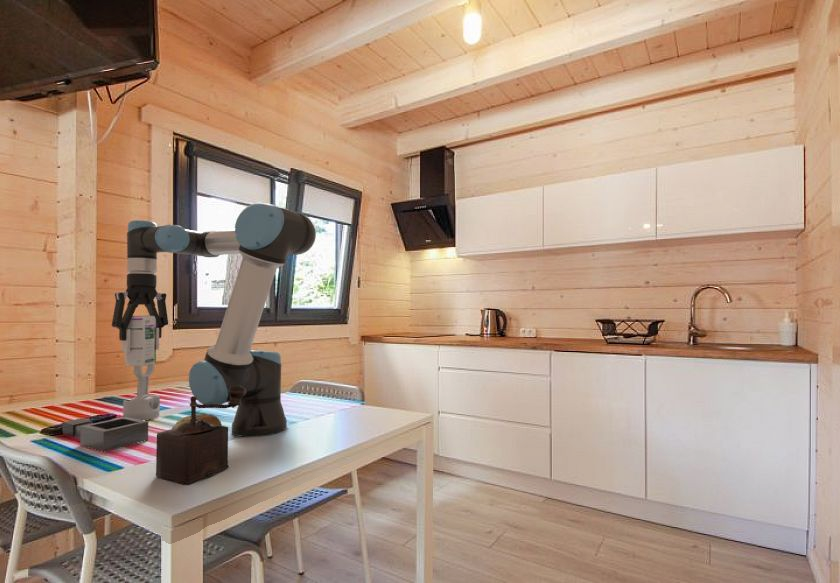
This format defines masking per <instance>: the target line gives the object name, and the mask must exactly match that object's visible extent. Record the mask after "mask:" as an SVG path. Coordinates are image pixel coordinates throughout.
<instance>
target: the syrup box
mask: <svg viewBox="0 0 840 583" xmlns="http://www.w3.org/2000/svg"><path fill="white" fill-rule="evenodd" d="M127 329H130V352H124V353H125V359H124V361H125V366H127V367H134V366H141V367H144V366H147V365H149V364H154V363H155V364H156V363H157V350H156V319H155V316H150V315H133V316H132V318H131V321H130V323H129V325H128V328H127Z"/></svg>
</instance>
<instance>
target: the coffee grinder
mask: <svg viewBox="0 0 840 583" xmlns="http://www.w3.org/2000/svg"><path fill="white" fill-rule="evenodd" d="M228 393H229V395H230V401H229V402H227V404H221V405H220V404H201V403H200V404H199V403H197V401H198V400H197V398H196V397H195V396H194V395H192V396H191V397H190V398H189V401H190V403H189V407H191V408H190V410H191V411H190V412H191V413H190V416H191V419H190V421H188V422H185V423H183V424H182V425H180V426H179V427H178V428H174V429H172V428H171V429H167V430H163V431H160V432H157V434H156V449H155V450H156V451H155V453H156V454H155V455H156V457H155V458H156V459H155V460H156V461H155V462H156V463H155V465H156V466H155V478H158V479H161V480H165V481H169V482H172V483H175V484H176V483H177V484H181V485H185V486H189V485H192V484H195V483H197V482H199V481H200V482H201V481H202V480H205V479H207V478H210V477H212V476H214V475H216V474H218V473H221V472H223V471H225V470H227V469H228V468H229V426H226V425H222V426H220V425H213V424H209V423H208V422H205V421H203V420H197V419H196V414H197V408H199V409H229V408H232V409H234V408H236V407H238V406H240V405H241V401H240V400H241V399H242V397H243V396H244V395H245V394H246V389H245V388H244V387H243V386H239V385H233V386H231V387H230V388H229V389H228Z"/></svg>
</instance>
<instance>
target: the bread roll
mask: <svg viewBox="0 0 840 583" xmlns="http://www.w3.org/2000/svg"><path fill="white" fill-rule="evenodd" d="M190 419H191V415H188V416H185V417H182V418H180V419H179V420H178V421H177V422H176V423H174V425H173V426H172V427H171V429H174V428H178V427H179V426H180V425H182V424H183V423H185V422H188V421H190ZM196 419H197V420H203V421H205V422H208V423H209V424H213V425H220V426H223V425H222V421H221V420H220V419H219V418H218V416H217V415H214V414H207V413H198V414H197V413H196Z"/></svg>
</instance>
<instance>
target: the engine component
mask: <svg viewBox="0 0 840 583" xmlns="http://www.w3.org/2000/svg"><path fill="white" fill-rule="evenodd" d="M155 364H156V363H154V364H149V365H146V370H145V372H144V373H143V370H142V369H143V368H142V366H133V372H132V373H133V374H134V376H135V377H136V378H137V386H136V387H137V389H136V390H137V391H136V395H135V397H133V398H130V400H125V399H124V400H123V403H122V404H123V405H122V409H123V410H122V414H123V415H122V417H129V418H134V419H139V420H147V421H150V420H149V419H152V420H155V419H158V418H159V417H160V411H161V410H160V409H161V408H160V407H161V406H160V405H161V404H160V403H161V402H160V401H161V400H160V399H161V396H160V395H158V394H149V385H150V383H149V382H150V377H151V376H152V375H153V373H155ZM157 417H158V418H157ZM154 418H155V419H154Z"/></svg>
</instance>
